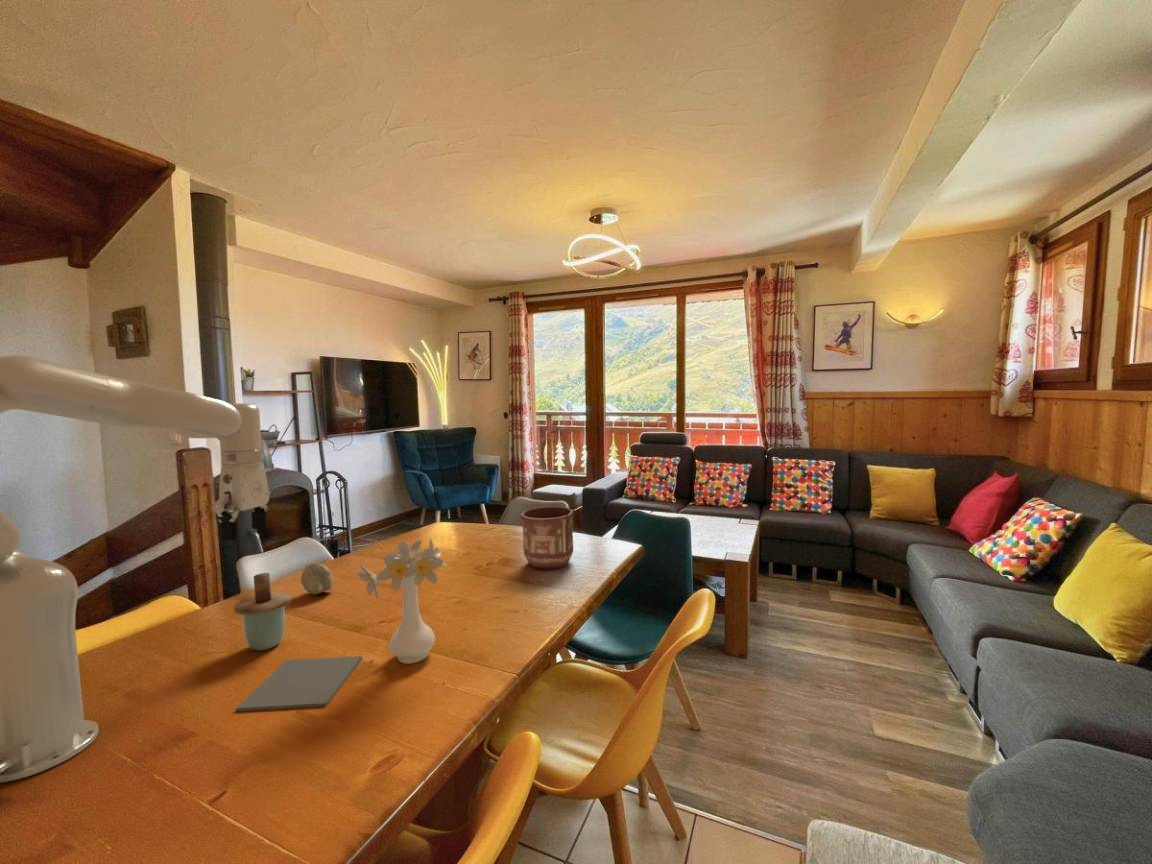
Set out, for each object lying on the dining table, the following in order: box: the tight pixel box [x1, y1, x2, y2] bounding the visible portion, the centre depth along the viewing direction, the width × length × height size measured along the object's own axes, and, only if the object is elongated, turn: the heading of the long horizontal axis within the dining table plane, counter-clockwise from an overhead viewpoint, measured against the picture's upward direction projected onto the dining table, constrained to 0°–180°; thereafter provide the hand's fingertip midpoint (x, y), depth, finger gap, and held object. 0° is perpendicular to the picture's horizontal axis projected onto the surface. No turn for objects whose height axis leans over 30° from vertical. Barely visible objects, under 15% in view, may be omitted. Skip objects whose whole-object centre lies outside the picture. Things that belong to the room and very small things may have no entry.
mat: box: [235, 655, 363, 712], centre depth 93 cm, size 16×16×1 cm
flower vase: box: [357, 537, 448, 665], centre depth 100 cm, size 13×18×25 cm
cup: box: [242, 605, 286, 651], centre depth 108 cm, size 8×8×10 cm
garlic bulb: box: [300, 561, 335, 595], centre depth 138 cm, size 9×8×10 cm
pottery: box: [520, 505, 574, 571], centre depth 158 cm, size 18×18×18 cm
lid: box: [233, 572, 292, 616], centre depth 107 cm, size 11×11×7 cm
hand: (245, 533), depth 105 cm, fingers open, 9 cm apart
